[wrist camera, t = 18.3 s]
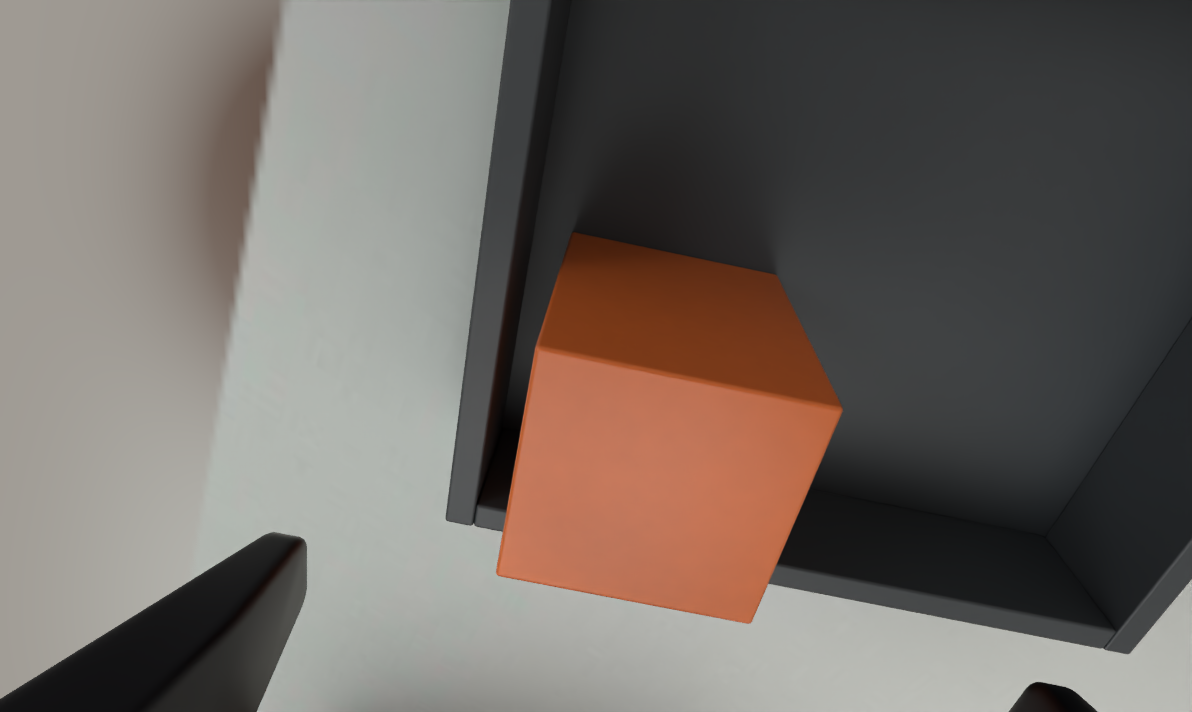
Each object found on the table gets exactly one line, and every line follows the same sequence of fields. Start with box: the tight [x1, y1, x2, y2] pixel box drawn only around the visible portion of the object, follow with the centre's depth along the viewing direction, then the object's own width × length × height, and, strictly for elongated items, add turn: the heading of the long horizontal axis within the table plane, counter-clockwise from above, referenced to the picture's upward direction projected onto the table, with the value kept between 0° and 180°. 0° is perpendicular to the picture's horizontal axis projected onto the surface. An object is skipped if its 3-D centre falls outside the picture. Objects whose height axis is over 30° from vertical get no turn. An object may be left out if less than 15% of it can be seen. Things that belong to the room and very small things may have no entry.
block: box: [496, 232, 843, 624], centre depth 13 cm, size 4×4×6 cm
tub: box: [446, 0, 1192, 654], centre depth 13 cm, size 15×13×4 cm
